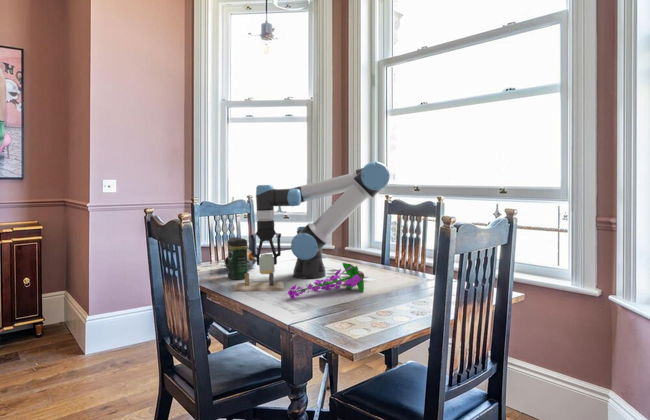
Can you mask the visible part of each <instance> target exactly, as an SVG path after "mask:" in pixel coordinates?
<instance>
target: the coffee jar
mask: <svg viewBox="0 0 650 420" xmlns="http://www.w3.org/2000/svg"><path fill="white" fill-rule="evenodd" d="M248 247H249V246H248V240H247V239H246V238H242V237H237V236H236V237H230V238H228V240H227V256H228V269H227V277H228V278H229V279H232V280H245V273H249V271H248V270H249V269H247V249H248Z"/></svg>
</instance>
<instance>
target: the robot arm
mask: <svg viewBox="0 0 650 420" xmlns="http://www.w3.org/2000/svg"><path fill="white" fill-rule="evenodd" d="M390 174H391V173H390V170H389V169H388V167H387V165H385V164H384V163H382V162H379V161H370V162H368V163H367V164H365V165H364V166H363V167H362V168H358V169H355V170H354V171H353V172H352V173H348V174H344V175H339V176H335V177H332V178H327V179H324V180H320V181H319V180H318V181H316V182H311V183H308V184H304V185H301V186H299V185H298V186H296V187H292V188H277V189H276V188H274V185H272V184H259V185H256V189H255V191H256V192H255V199H256V200H255V202H256V219H257V221H256V229H257V230H256V232H255V233H252V234H250V239H251V252H252V256H253V257H256V259H257V261H256V265H257V266H258V267H259V274H261V252H262V247H263V243H264V242H268V243H269V244H270V248H271V252H272V254H273V257H272V266H273V273H274V274H275V271H276V270H275V266H276V265H277V264H278V259H277V258H278V257H281V254H282V253H281V238H282V233H281V232H276V229H275V220H274V219H275V208H274V207H297V206H300V205H301V203H305V202H308V201H313V200H318V199H321V198H325V197H329V196H334V195H339V194H341V195H340V196H339V197H338V198H337V199H336V200H335V202H333V203H332V204H331V205H330V206H329V207H328V208H327V209H326V210H325V211H324V212H323V213H322V214H321V216H319V217H318V218H317V219H316V220H315V221H314V222H313V223H312V222H311V223H307V224H306V225H305V226H297V231H296V235H294V236H293V237H292V240H291V243H290V249H291V252H292V254H293V255H294V256H295V258H296V261H295V265H294V267H293V270H292V271H293V274H292V275H293V276H294V277H295V278H299V279H319V278H323V277H326V268H325V265H324V262H323V258H322V257H323V247H324V246H325V245H327V244H328V238H329V236H330V235H332V233H334V231H336V229H337V228H338V227H339V226H340V225H341V224H342V223H344V221H345V220H347V218H349V217H350V216H351V215H352V214H353V213H354V212H355V211H356V210H357V209H358V208H359V207H360V206H361V205H362V204H363V202H365V201H366V200H367V199H373V198H374V196H376V195H377V194H378V193H379V192H380V191H381V190H383V189H384V188H385V187H387V185H388V183H389V181H390V177H391V175H390ZM257 237H258V239H259V245H258V249H257V253H256V238H257ZM274 237H275V238H276V243H277V247H276V248H277V251H276V249H275V245H274V242H273V238H274Z"/></svg>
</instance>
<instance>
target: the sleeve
mask: <svg viewBox="0 0 650 420" xmlns="http://www.w3.org/2000/svg"><path fill="white" fill-rule="evenodd" d="M260 257H261V273H260V274H261V275H269V273H273V266H272V257H274V255H273V253H264V254H263V253H262V254H261V253H260Z"/></svg>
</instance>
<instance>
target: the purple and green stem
mask: <svg viewBox="0 0 650 420" xmlns="http://www.w3.org/2000/svg"><path fill="white" fill-rule="evenodd" d="M342 267H343V269H344V270H343V271H342V269H341V268H340V269H339V270H337V271H335V273H334V274H333V275H331V276H330V277H329V278H325V279H315V281H314V282H313V283H311V282H310V283H308V284H305V285H304V287H301V286H298V287H297V285H296V284H294V285H293V286H291V288H290V289H289V290H288V292H287V295H289V297H290V298H291V299H292V300H294V299H295V297H299V296H300V295H303V293H305V294H308V293H311V292H316V293H321V292H322V291H323V290H326V291H331V289H332V288H333V289H334V290H339V289H340V288H341V285H343V286H346V288H347V289H353V288H355V287H356V286H357V290H358V291H360V292H361V293H364V291H365V284H364V278H365V273H364V272H363V271H361V270H359V268H358V266H357V265H355V266H354V265H353V264H351V263H346V262H343V263H342ZM345 272H346V275H348V276H347V277H344V278H340V277H341V275H342V274H344V273H345ZM343 281H345V282H344V283H343ZM330 288H331V289H330ZM320 289H321V290H320ZM306 291H307V292H306Z"/></svg>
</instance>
